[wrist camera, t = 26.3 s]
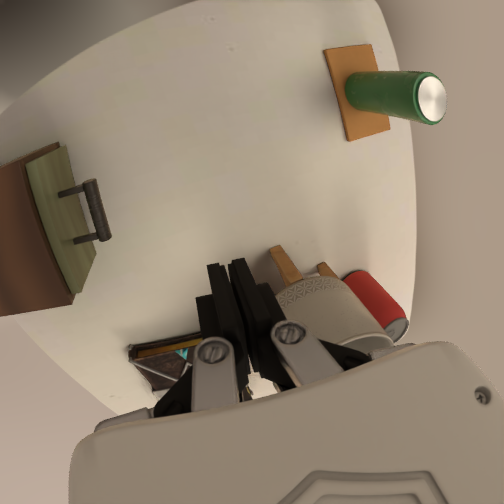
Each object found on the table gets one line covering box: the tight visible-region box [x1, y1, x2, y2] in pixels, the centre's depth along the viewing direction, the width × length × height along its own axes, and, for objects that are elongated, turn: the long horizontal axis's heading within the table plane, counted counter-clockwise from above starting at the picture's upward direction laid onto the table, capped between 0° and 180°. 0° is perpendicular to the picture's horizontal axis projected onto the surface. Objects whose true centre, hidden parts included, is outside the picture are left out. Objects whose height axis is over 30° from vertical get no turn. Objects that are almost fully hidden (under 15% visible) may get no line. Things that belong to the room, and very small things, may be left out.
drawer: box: [25, 145, 112, 294], centre depth 23 cm, size 18×13×8 cm
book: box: [128, 333, 253, 402], centre depth 45 cm, size 22×17×5 cm
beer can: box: [343, 271, 409, 343], centre depth 40 cm, size 7×7×12 cm
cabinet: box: [0, 142, 76, 317], centre depth 23 cm, size 15×15×10 cm
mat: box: [323, 44, 390, 142], centre depth 29 cm, size 12×7×1 cm, turn 19°
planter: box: [270, 245, 394, 354], centre depth 34 cm, size 13×13×18 cm
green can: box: [345, 71, 447, 125], centre depth 24 cm, size 5×5×12 cm
